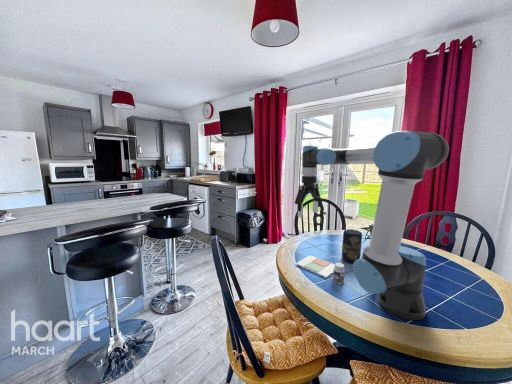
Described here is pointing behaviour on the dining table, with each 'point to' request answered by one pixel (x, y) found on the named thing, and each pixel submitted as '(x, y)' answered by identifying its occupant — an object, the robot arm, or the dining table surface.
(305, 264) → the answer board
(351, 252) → the canister
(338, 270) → the pill bottle
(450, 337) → the dining table surface
